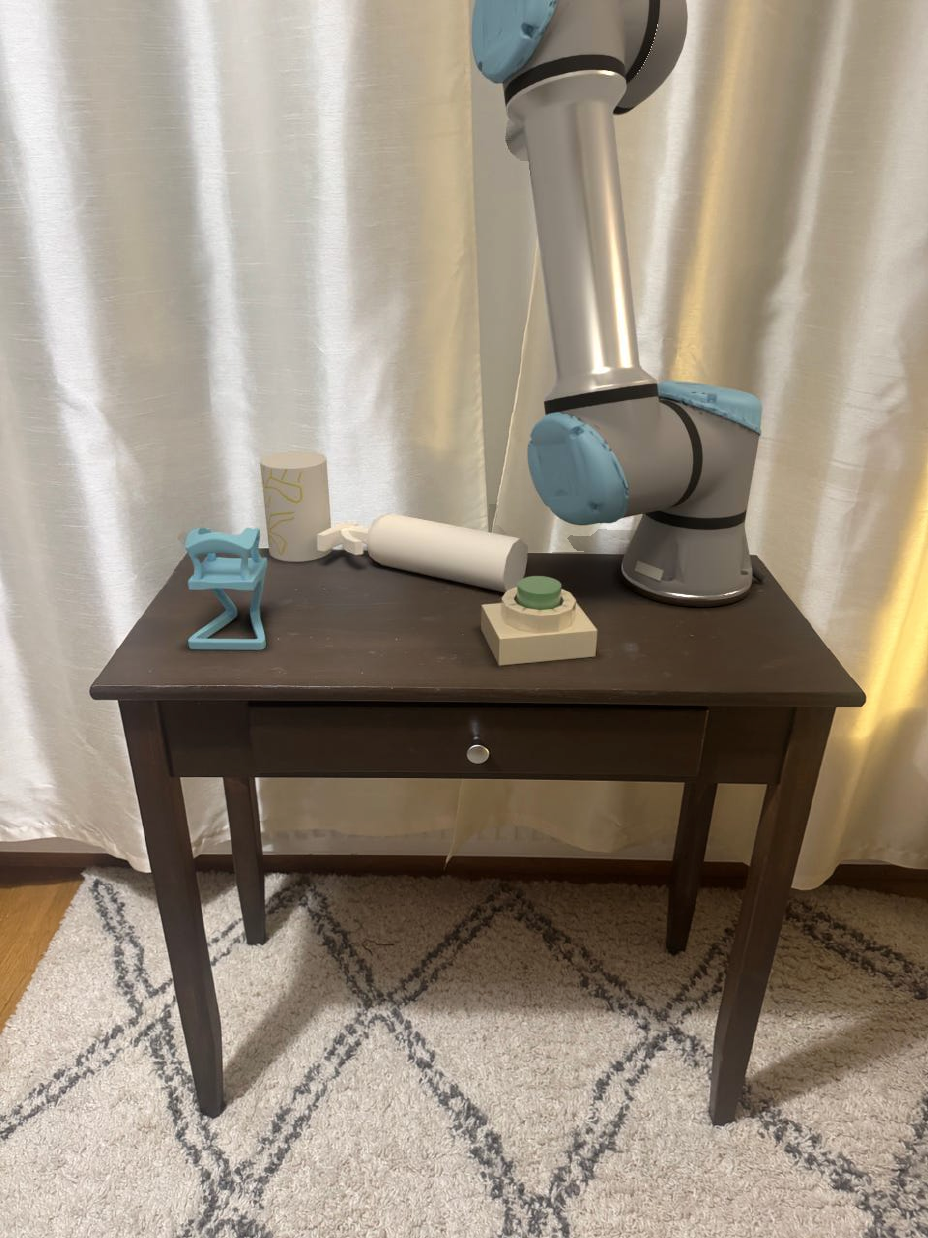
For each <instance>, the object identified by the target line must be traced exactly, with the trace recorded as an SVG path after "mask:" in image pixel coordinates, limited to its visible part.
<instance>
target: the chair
mask: <svg viewBox="0 0 928 1238" xmlns="http://www.w3.org/2000/svg"><path fill="white" fill-rule="evenodd" d="M260 541H261V529H260V527H255V528H251V527H245V528H244V529H243V530H242V532H241V533H239V534H231V533H226V532H221V531H215V532H213V531H212V532H211V527H208V526H207V527H205V526H201V527H197V528H194V529H192V530H190V531H189V532H188V533H187V536H186V539H185V543H184V549H185V550H186V552H187V555H188V557H189V558H190V560H191V562H192V566H193V569H194V571H193V575H191V577H190V578H189V579H188V581H187V585H188V590H191V591H192V590H193V591H194V590H196V591H197V590H198V591H201V590H202V591H203V590H211V591H212V592H213V594H214V595H215V597H216V598H217V599H218V601H219V602H220V603H221V605H222V606H223V607H224V609H225V610H224V611H223V612H222V613H221V614H220V615H218V616H217V617H215V619H213V620H212V621H210V622H209V623H207V624H206V625H204V626H203V627H201V628H200V629H199V630H198V631H196V632H195V633H194V634H192V635H191V636H190V637H189V638H188V639H187V643H188V648H189V649H191V650H225V651H226V650H229V651H236V650H237V651H239V650H240V651H263V650H264V649H266V647H267V644H266V642H267V641H266V634H265V630H264V627H263V623H262V620H261V609H260V606H261V600H262V597H263V596H262V595H263V591H264V590H263V589H264V584H265V578H266V573H267V568H268V558H267V557H262V556H261V554H260ZM217 554H226V555H233V556H237V557H240V558H236V557H235V558H230V557H219V556H218V557H217ZM250 554H251V557H249V556H250ZM203 555H206V556H205V558H204V559H203V560H202V561H201V560H200V559H199V558H198V557H199V556H203ZM224 589H228V590H237V591H253V593H252V598H251V603H250V608H249V615H250V622H251V625H252V629H253V632H254V634H255V637H256V638H254V639H253V638H251V639H249V638H248V639H247V638H209V637H211V636H213V635H214V634H215V633H217V632H218V631H220V630H221V629H223V628H224V627H226V626H227V625H228V624H230V622H233V620H235V619H236V618H237V616H238V611H237V606H236V605H235V604H234V602H233V601H232V599H231V598H230V597H229V596H228V594H227V593H226V592H225V590H224Z"/></svg>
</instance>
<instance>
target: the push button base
mask: <svg viewBox="0 0 928 1238" xmlns="http://www.w3.org/2000/svg"><path fill="white" fill-rule="evenodd" d="M480 607H481V608H480V610H481V612H480V614H481V616H480V631H481V632H482V635H483V637H484V638H485V641H486V642H487V645H488V646H489V649H490V651H491V652H492V655H493V657H494V659H495V661H496V663H497V665H498V666H499V667H501V666H511V665H519V664H530V663H531V664H532V663H540V662H541V663H542V662H553V661H562V660H573V659H574V660H575V659H583V658H594V657H596V653H597V652H596V651H597V642H598V628H596V626H595V625H594V623H593V622H592V621H591V620H590V618H589V617H588V616H587V615H586V613H585V612H584V610H583V609H582V608H581V606H580V605H579V603H577V599H576V597H574V596H573V594H572V593H571V592H569V591H567V590H565V589H563V588H561V602H560V606H559V607H556V608H554V609H547V610H535V609H528V608H525V607H523V606H520V605H518V604H517V587H515V588H512V589H510V590H507V591H506V593H504V594H503V595H502V596H501V600H500V602H497V603H488V604H487V603H485V604H481V606H480Z"/></svg>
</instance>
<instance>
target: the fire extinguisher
mask: <svg viewBox="0 0 928 1238" xmlns="http://www.w3.org/2000/svg"><path fill="white" fill-rule="evenodd" d="M364 544H365V546H366V550H367V554H368V556H369V557H370V558H372V560H374V561H375V562H376V563H379V565H382V566H385V567H389V568H394V569H398V570H402V571H407V572H411V573H414V574H415V573H416V574H420V575H424V576H428V577H434V578H438V579H442V580H447V581H451V582H456V583H461V584H465V585H469V586H474V587H477V588H483V589H487V590H490V591H495V592H500V593H504V594H505V593H506V591H507V590H510V589H512V588H515V587H517V584H518V582H519V581H520V580H521V579H523V578H525V575H526V570H527V569H526V568H527V564H528V558H529V557H528V552H529V547H528V543H527V542H525V541H524V540H523V539H522V538H521V537H515V536H511V535H505V534H499V533H494V532H489V531H486V530H485V531H484V530H479V529H474V528H469V527H463V526H458V525H453V524H448V523H442V522H438V521H432V520H427V519H422V518H417V517H412V516H406V515H401V514H396V513H392V512H389V513H386V514H384V515H381V516H378V517H377V518H374V519H373V520H372V523H371V525H359V522H358V521H357V522H356V521H346V520H344V521H341V522H339V523H337V524H335V525H333V526H331V528H329V529H327V530H325V531H323V532H321V533H319V534H317V549H318V550H319V551H327V550H329V549H331V548H332V549H334V548H336V547H339V546H341V545H342V548H343V549H344V550H345V551H346V552H347V553H350V554H352V555H354V556H359V555H364Z"/></svg>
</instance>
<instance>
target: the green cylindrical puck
mask: <svg viewBox="0 0 928 1238" xmlns="http://www.w3.org/2000/svg"><path fill="white" fill-rule="evenodd" d="M561 589H562V583H561V581H559V580H558V579H555V578H553V577H551V576H545V575H531V576H525V577H523V579H521V580H520V581H519V582H518V584H517V604H518V605H520V606H523V607H525V608H528V609H535V610H547V609H554V608H556V607H559V606H560V602H561Z"/></svg>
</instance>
